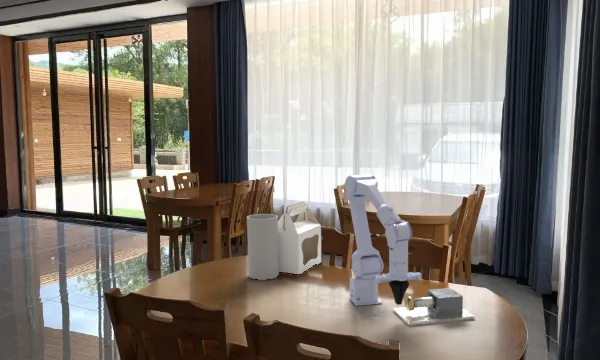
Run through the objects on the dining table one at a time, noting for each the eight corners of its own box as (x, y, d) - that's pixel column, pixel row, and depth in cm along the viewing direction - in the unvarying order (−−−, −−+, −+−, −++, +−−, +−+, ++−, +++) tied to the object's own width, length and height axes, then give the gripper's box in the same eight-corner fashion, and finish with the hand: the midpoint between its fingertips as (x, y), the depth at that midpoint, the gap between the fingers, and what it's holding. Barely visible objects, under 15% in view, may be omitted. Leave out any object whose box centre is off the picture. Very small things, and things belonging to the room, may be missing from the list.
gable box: (298, 275, 194) (297, 208, 191) (271, 271, 200) (269, 206, 197) (321, 262, 213) (320, 201, 210) (296, 259, 219) (295, 199, 216)
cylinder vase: (278, 280, 187) (276, 219, 185) (246, 281, 188) (245, 219, 185) (279, 271, 200) (278, 213, 197) (250, 272, 200) (248, 214, 197)
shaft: (410, 313, 146) (410, 299, 145) (404, 308, 150) (404, 294, 150) (453, 309, 149) (453, 295, 148) (446, 304, 153) (447, 291, 153)
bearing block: (408, 325, 142) (408, 303, 141) (393, 311, 154) (393, 290, 153) (474, 319, 146) (475, 297, 145) (454, 305, 158) (455, 285, 157)
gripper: (380, 266, 141) (380, 310, 142) (426, 263, 143) (425, 306, 145) (372, 260, 147) (373, 301, 149) (416, 257, 150) (415, 298, 152)
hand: (398, 303), depth 147 cm, fingers closed
